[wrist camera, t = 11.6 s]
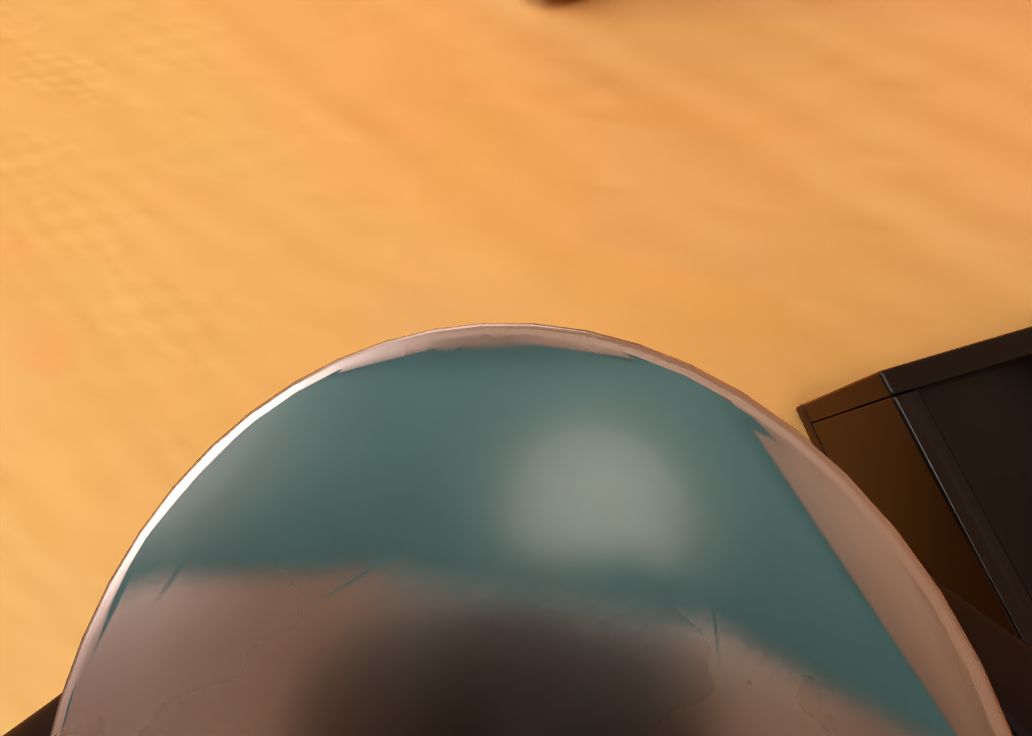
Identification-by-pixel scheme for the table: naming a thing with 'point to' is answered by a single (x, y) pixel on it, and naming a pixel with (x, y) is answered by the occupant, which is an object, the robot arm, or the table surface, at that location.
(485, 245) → the table surface
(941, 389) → the tray
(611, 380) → the tin
